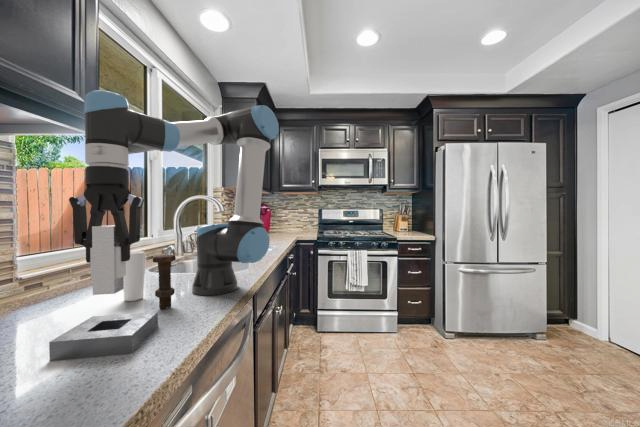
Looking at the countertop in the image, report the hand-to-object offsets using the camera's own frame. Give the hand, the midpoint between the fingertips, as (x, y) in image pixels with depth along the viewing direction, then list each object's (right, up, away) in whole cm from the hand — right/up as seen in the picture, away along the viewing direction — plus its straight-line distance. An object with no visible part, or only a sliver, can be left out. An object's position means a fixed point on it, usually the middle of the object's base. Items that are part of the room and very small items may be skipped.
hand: (108, 277), depth 63 cm
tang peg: (0, -3, 0) cm, 3 cm away
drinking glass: (-15, -14, +32) cm, 38 cm away
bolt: (0, -14, +23) cm, 26 cm away
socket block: (0, -14, 0) cm, 14 cm away
